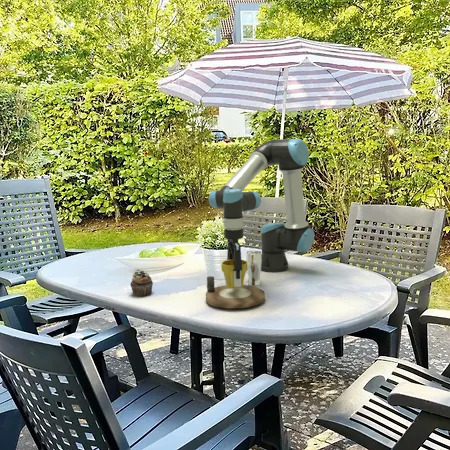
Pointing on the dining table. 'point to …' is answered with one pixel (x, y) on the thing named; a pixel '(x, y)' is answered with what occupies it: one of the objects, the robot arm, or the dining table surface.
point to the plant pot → (232, 272)
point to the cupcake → (141, 284)
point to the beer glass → (254, 267)
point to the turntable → (233, 295)
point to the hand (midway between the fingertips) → (234, 282)
